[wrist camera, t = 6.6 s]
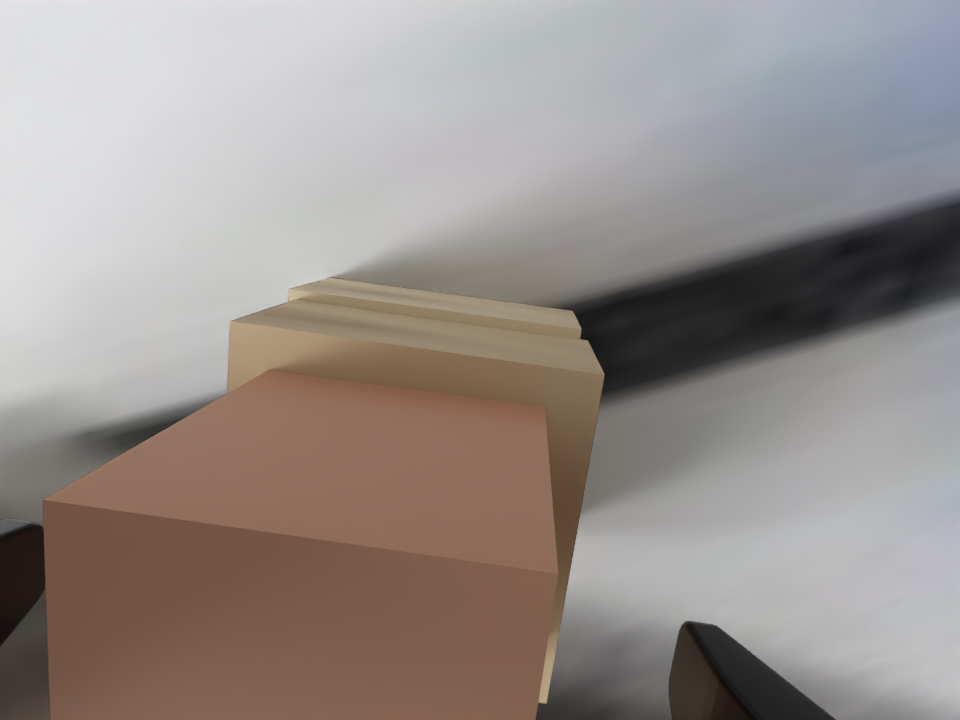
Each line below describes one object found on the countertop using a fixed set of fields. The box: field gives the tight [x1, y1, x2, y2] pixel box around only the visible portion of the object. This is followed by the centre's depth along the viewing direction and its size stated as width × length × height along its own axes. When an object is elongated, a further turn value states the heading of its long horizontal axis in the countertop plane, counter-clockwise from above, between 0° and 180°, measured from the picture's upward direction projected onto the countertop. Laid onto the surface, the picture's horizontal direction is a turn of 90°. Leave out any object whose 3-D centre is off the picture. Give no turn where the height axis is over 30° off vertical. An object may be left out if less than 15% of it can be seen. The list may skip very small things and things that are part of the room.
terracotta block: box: [43, 370, 558, 720], centre depth 8 cm, size 4×4×5 cm
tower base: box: [288, 278, 582, 339], centre depth 15 cm, size 6×6×3 cm
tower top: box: [227, 299, 605, 704], centre depth 12 cm, size 6×6×3 cm
